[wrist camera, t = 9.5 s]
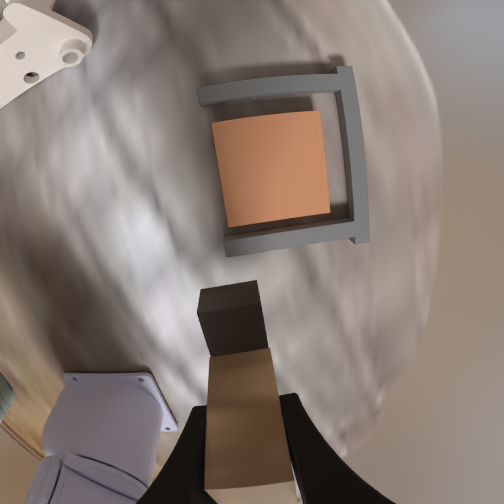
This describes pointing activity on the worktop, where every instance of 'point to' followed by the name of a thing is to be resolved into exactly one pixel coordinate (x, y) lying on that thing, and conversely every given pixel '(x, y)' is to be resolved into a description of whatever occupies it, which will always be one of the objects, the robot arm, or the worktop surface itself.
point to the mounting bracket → (36, 45)
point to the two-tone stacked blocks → (242, 402)
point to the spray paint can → (5, 397)
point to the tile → (272, 167)
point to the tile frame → (352, 149)
